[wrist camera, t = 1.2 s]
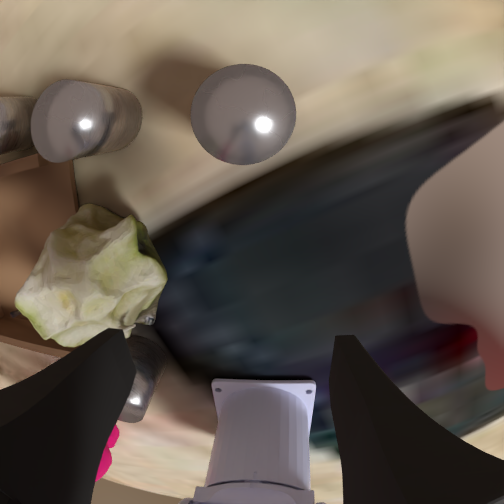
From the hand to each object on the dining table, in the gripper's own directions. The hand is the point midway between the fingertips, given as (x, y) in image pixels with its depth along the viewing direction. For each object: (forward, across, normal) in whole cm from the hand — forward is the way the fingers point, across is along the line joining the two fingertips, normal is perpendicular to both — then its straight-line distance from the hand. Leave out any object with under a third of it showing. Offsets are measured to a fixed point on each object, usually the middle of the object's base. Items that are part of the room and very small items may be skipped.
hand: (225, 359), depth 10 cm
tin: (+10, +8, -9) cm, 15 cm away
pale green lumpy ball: (+10, +10, 0) cm, 14 cm away
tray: (+10, +18, 0) cm, 20 cm away
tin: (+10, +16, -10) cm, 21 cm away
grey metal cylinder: (+10, 0, -8) cm, 12 cm away
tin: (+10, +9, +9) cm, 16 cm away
